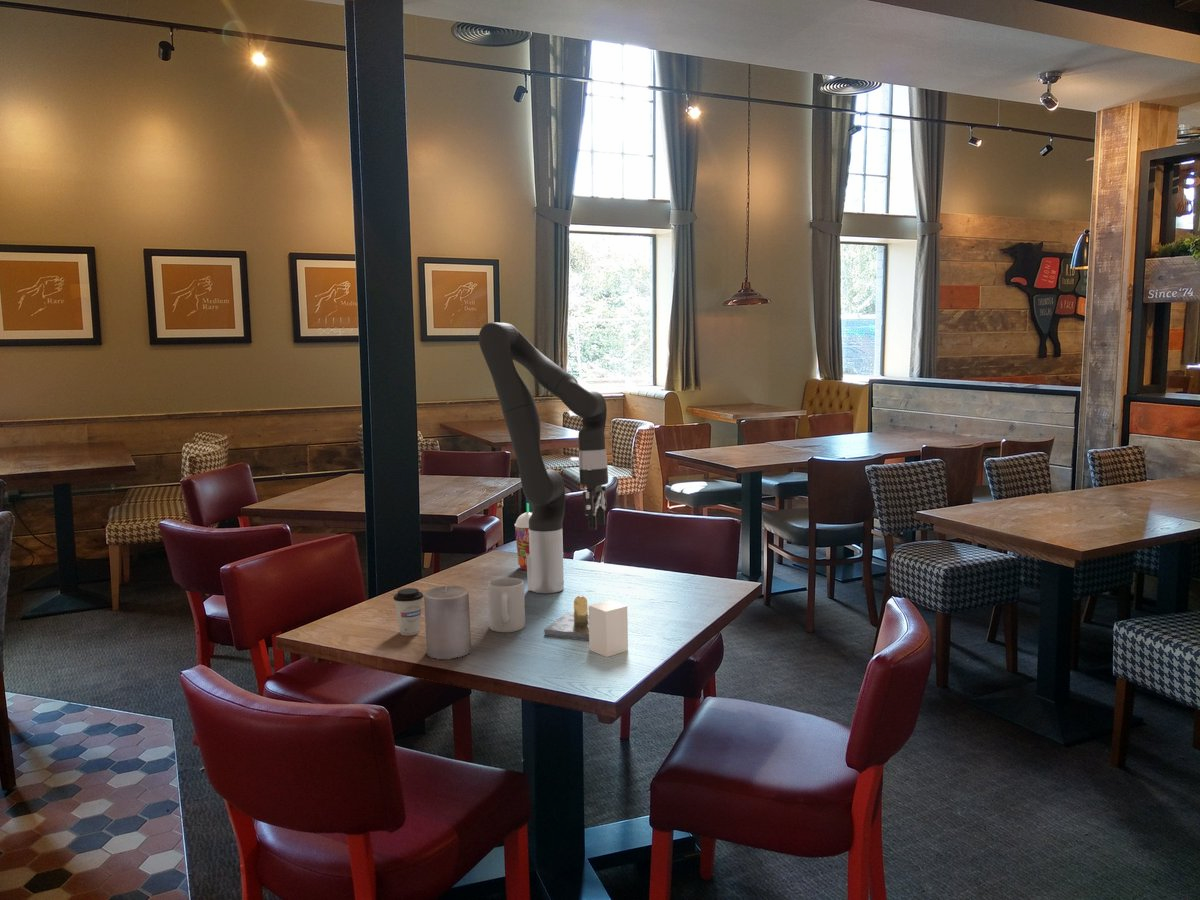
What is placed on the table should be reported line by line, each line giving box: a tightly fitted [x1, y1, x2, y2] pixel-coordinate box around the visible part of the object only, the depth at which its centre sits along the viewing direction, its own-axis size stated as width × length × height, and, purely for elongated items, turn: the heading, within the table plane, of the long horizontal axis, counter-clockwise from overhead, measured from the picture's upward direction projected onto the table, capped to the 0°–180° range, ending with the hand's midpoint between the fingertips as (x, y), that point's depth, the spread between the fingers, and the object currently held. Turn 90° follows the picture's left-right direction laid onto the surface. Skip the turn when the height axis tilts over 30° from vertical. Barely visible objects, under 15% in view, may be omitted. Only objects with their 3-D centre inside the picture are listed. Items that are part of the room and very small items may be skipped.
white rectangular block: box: [588, 599, 629, 658], centre depth 183 cm, size 6×6×10 cm
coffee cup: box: [393, 587, 424, 636], centre depth 198 cm, size 7×7×10 cm
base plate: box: [543, 595, 589, 641], centre depth 197 cm, size 13×13×8 cm
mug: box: [487, 577, 526, 633], centre depth 199 cm, size 12×8×11 cm
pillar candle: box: [423, 585, 472, 660], centre depth 184 cm, size 10×10×15 cm
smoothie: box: [514, 502, 533, 571], centre depth 255 cm, size 8×8×20 cm
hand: (596, 527), depth 224 cm, fingers open, 8 cm apart
